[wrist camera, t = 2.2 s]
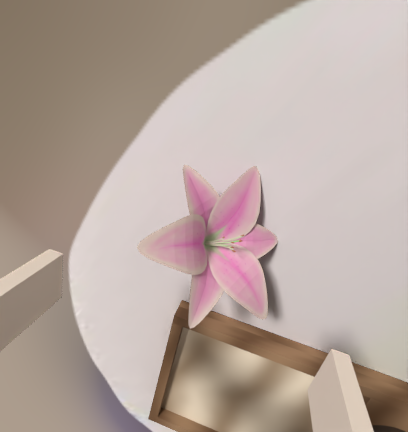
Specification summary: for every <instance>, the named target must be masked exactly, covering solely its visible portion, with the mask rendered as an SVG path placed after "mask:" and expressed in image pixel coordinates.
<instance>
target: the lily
mask: <svg viewBox="0 0 408 432" xmlns="http://www.w3.org/2000/svg"><path fill="white" fill-rule="evenodd" d="M183 176H184V183H185V190H186V196H187V202H188V208H189V213H190V215H189V216H186V217H184V218H182V219H180V220H178V221H176V222H174V223H171V224H169V225H167V226H165V227H163V228H161V229H160V230H158V231H156V232H154V233H152V234H150V235H149V236H147V237H146V238H145V239H143V240H142V241H140V243H139V245H138V247H137V249H138V250H139V252H140V253H141V254H142V255H144V256H146V257H147V258H149V259H151V260H153V261H156V262H158V263H160V264H163V265H165V266H168V267H170V268H173V269H176V270H178V271H181V272H184V273H187V274H191V275H192V280H191V289H190V301H189V318H188V325H189V327H190V329H191V328H194V327H195V326H196V325H197V324H199V323H200V322H201V321H202V320H203V319H204V318H205V316H206V315H207V314H208V313H209V312H210V311H211V309H212V308H213V307H214V306H215V304H216V303H217V302H218V300H219V298H220V297H221V295H222V294H223V291H225V292H226V293H227V294H228V295H229V296H230V297H232V298H233V299H234V300H235V301H237V302H238V303H239V304H241V305H242V306H243V307H244V308H246V309H247V310H248V311H250V312H251V313H252V314H254V315H255V316H257V317H258V318H260V319H262V320H263V319H266V317H267V314H268V299H267V289H266V282H265V277H264V273H263V269H262V267H261V265H260V263H259V261H258V259H259V258H260V257H262V256H264V255H265V254H266V253H268V252H269V251H270V250H271V249H272V248H273V247H275V245H276V244H277V242H278V240H277V236H275V235H274V234H273V233H272V232H271V231H269V230H268V229H266V228H264V227H263V226H261V225H259V224H256V221H257V218H258V215H259V211H260V203H261V181H260V173H259V171H258V169H257V167H256V166H253V167H252V168H250V169H249V170H247V171H246V172H245V173H244V174H243V175H242V176H241V177H239V178H238V179H237V180H236V181H235V182H234V183H233V184H232V185H231V186H230V187H228V189H227V190H226V191H225V192H224V193H223V194H222V195H221V196H220V197H219V195H218V193H217V192H216V191H215V190H214V188H213V187H212V186H211V185H210V184H209V183H208V182H207V181H206V180H205V179H204V178H203V177H202V176H201V175H200V174H199V173H197V172H196V171H195V170H194V169H192V168H191V167H189V166H187V165H184V167H183Z"/></svg>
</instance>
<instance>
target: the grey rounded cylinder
mask: <svg viewBox="0 0 408 432" xmlns="http://www.w3.org/2000/svg"><path fill="white" fill-rule="evenodd" d="M372 428H373V431H374V432H406V431H403V430H401V429H398V428H395V427H391V426H385V425H372Z"/></svg>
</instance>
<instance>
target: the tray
mask: <svg viewBox="0 0 408 432" xmlns="http://www.w3.org/2000/svg"><path fill="white" fill-rule="evenodd" d="M188 318H189V303H188V302H186V301H183V300H182V301H181V303H180V305H179V307H178V309H177V311H176V313H175V315H174V319H173V323H172V327H171V331H170V335H169V339H168V343H167V347H166V351H165V355H164V359H163V363H162V367H161V371H160V375H159V379H158V383H157V387H156V391H155V395H154V399H153V403H152V407H151V411H150V415H149V419H150V420H152V421H154V422H157V423H159V424H161V425H164V426H166V427H168V428H170V429H173V430H175V431H177V432H313V429H312V421H311V413H310V406H309V398H308V390H307V389H308V388H309V386H310V384H311V383H312V381H313V379H314V377H315V376H316V374H317V372H318V371H319V369H320V367H321V365H322V364H323V362H324V360H325V359H326V357H327V355H328V353H325V352H322V351H320V350H317V349H314V348H311V347H309V346H306V345H303V344H300V343H298V342H295V341H292V340H290V339H287V338H284V337H281V336H279V335H276V334H273V333H270V332H268V331H265V330H262V329H260V328H257V327H254V326H251V325H249V324H246V323H243V322H240V321H238V320H235V319H232V318H229V317H227V316H224V315H221V314H219V313H216V312H213V311H210V312H209V313H208V314H207V315H206V316H205V318H204V319H203V320H202V321H201V322H200V323H199V324H197V325H196V326H195V327H194V328H191V329H190V327H189V325H188ZM352 365H353V368H354V371H355V375H356V378H357V381H358V384H359V387H360V390H361V393H362V396H363V400H364V403H365V406H366V409H367V412H368V415H369V418H370V421H371V424H372V425H385V426H391V427H395V428H398V429H401V430H403V431H406V432H408V383H407V382H404V381H402V380H399V379H396V378H393V377H391V376H388V375H385V374H382V373H380V372H377V371H374V370H372V369H369V368H366V367H363V366H361V365H358V364H355V363H352Z"/></svg>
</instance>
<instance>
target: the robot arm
mask: <svg viewBox="0 0 408 432" xmlns="http://www.w3.org/2000/svg"><path fill="white" fill-rule="evenodd" d="M62 273H63V254H62V253H60V252H57V251H54V250H51V249H49V250H47V251H45V252H44V253H42V254H40V255H39V256H37V257H36V258H34V259H32V260H31V261H29V262H28V263H26V264H24V265H23V266H21V267H19V268H18V269H16V270H14V271H13V272H11V273H10V274H8V275H7V276H5V277H3V278H2V279H0V351H1V350H2V349H4V348H5V347H6V346H7V345H8V344H9V343H10V342H11V341H12V340H14V339H15V338H16V337H17V336H18V335H19V334H21V333H22V332H23V331H24V330H25V329H26V328H27V327H29V326H30V325H31V324H32V323H33V322H34V321H35V320H37V319H38V318H39V317H40V316H41V315H42V314H43V313H44V312H46V311H47V310H48V309H49V308H50V307H51V306H52V305H54V304H55V303H56V302H57V301H58V300H59V299H60V298H62V277H63V274H62ZM307 390H308V398H309V406H310V413H311V421H312V429H313V432H374V431H373V428H372V424H371V421H370V418H369V415H368V412H367V409H366V406H365V403H364V400H363V396H362V393H361V390H360V387H359V384H358V381H357V378H356V375H355V371H354V368H353V365H352V362H351V359H350V356H349V355H348V354H345V353H342V352H340V351H337V350H334V349H331V350H330V352H329V353H328V355H327V357H326V359H325V360H324V362H323V364H322V365H321V367H320V369H319V371H318V372H317V374H316V376H315V377H314V379H313V381H312V383H311V384H310V386H309V388H308V389H307Z"/></svg>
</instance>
